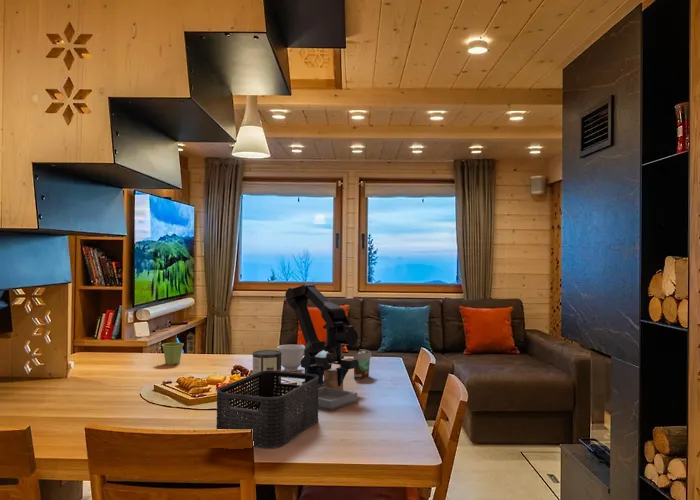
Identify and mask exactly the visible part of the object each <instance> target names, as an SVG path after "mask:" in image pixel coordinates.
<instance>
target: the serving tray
mask: <svg viewBox="0 0 700 500" xmlns="http://www.w3.org/2000/svg"><path fill="white" fill-rule="evenodd" d="M301 400H302V399H301ZM357 402H358V392H355V391H349V390H345V389H342V390H340V389H334V388H329V387H324V386H322V387H318V409H320V410H325V411H328V412H329V411H330V412H332V411H335V410H338V409H341V408H344V407H347V406H349V405H352V404H355V403H357Z"/></svg>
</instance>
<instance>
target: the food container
mask: <svg viewBox="0 0 700 500" xmlns="http://www.w3.org/2000/svg"><path fill="white" fill-rule="evenodd" d="M358 349H359V350H358V352H356V353H353V359H357V360H358V362H359V367H357V368H353V378H354V379H355V380H357V379H358V380H359V379H361V380H362V379H367V378H368V377H370V376H369V375H370V366H371V365H370V362H371V358H372V357H373V356H372V353H371V351H370V350H368V349H365V348H364V349H362V348H361V349H360V348H358Z"/></svg>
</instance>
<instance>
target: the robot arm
mask: <svg viewBox="0 0 700 500" xmlns="http://www.w3.org/2000/svg"><path fill="white" fill-rule="evenodd" d="M316 287H317V286H316V285H315V284H313V283H312V284H303V285H300V286H297V287H288V289H287V290H286V291H285V294H284V295H285V299H286V302H287V304H288V306H289V307H291V308H292V309H293V310H294V311H295V315H296V318H297V321H298V324H299V326H300V330H301V333H302V336H303V339H304V342H305V345H304V346H305V350H304V355H303V359H302V360H301V362H300V363H301V365H300V367H301V368H304V373H305V374H315V375H318V376H319V379H318V385H321V384H324V370H328V369H332V365H339V367H336V368H335V369H336V370H337V371H338V386H341V384H342V382H343V383H344V380H345V377H346V376H347V373H348V372H349V370H354V368H357V367H359V362H358V360H357V359H354V358H352V357H351V358H349V357H348V358H345V355H343V352H342V351H343V348H345V345H346V346H352V347H353V346H355V345H356V343H358V341H359V335H358V332H357V331H356V329H355V327H354V325H351V323H350V320H349V318H348V316H347V314H346V312H345V309H344V308H343V307H341V306H340V305H339V304H336V303H334V302H331V301H330V300H329V299H328V298H327V297H326V296H325V295H324V294H323V293H322V292H321V291H320V290H318V288H316ZM309 301H310V302H311V303H312V304H313V305H314V306H315V307H316V308H317V309H318V310H319V311H320V317H321V318H322V319H323V321H324V322H325V324H324V325H323V326H322V328H323V329H325V333H326V337H325V338H326V339H325V340H326V341H323V340H319V338H318V333H317V332H316V329H315V326H314V323H313V321H312V318H311V314H310V311H309V309H308V304H309ZM305 383H306V379H304V380H303V381H301V384H305Z"/></svg>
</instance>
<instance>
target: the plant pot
mask: <svg viewBox="0 0 700 500" xmlns="http://www.w3.org/2000/svg"><path fill="white" fill-rule="evenodd" d="M184 345H185V344H184V342H183V343H182V342H166V343H162V344H161V346H162V349H163V355H164V364H165V365H167V366H173V365H179V364H180V363H181V356H182V351H183V346H184Z"/></svg>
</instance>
